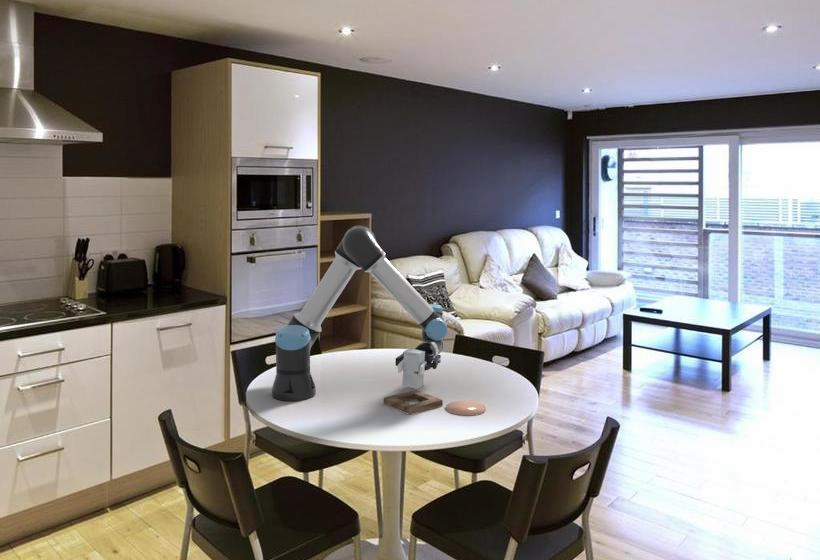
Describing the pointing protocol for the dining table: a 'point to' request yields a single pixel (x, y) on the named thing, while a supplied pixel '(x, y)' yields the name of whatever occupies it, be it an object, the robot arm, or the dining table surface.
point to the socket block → (425, 404)
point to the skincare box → (413, 368)
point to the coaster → (465, 407)
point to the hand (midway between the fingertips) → (410, 369)
